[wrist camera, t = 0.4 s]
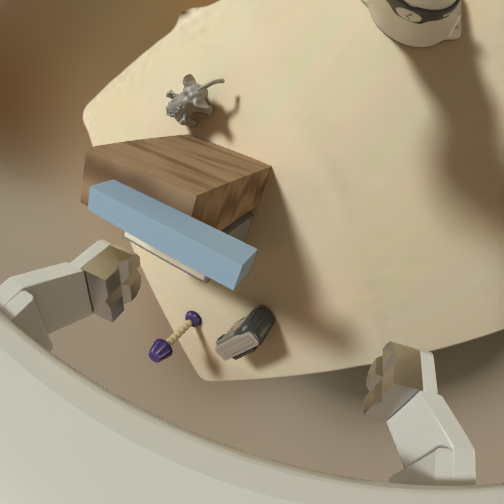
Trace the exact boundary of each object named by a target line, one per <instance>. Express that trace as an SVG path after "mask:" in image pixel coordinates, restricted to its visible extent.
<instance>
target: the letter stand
mask: <svg viewBox="0 0 504 504" xmlns="http://www.w3.org/2000/svg"><path fill="white" fill-rule="evenodd" d="M253 216H254V215H253V214H251V213H249V212H247V213H246V214H244V215H243V216H241V217H240V218H238V219H237V220H236V221H234V222H233V223H231V224H230V225H228V226H227V227H225V228H224V229H223V230H221V231H222V232H224V233H226V234H228V235H230V236H232V237H234V238H236V239H238V240H240V241H242V242H245V239H246V236H247V233H248V231H249V228H250V225H251V222H252V219H253ZM123 237H124V238H126V239H128V240H129V241H131V242H132V243H134V244H136V245H138V246H139V247H141V248H143V249H145V250H146V251H148V252H150V253H152V254H153V255H155V256H157V257H159V258H160V259H162V260H164V261H166V262H167V263H169V264H171V265H173V266H175V267H176V268H178V269H180V270H182V271H184V272H185V273H187V274H189V275H191V276H193V277H195V278H196V279H198V280H200V281H202V282H204V283H207V282H208V281H209V280H210V278H208V277H207V276H205V275H203V274H201V273H199V272H197V271H195V270H194V269H192V268H190V267H188V266H186V265H184V264H182V263H181V262H179V261H177V260H175V259H173V258H172V257H170V256H168V255H166V254H164V253H163V252H161V251H159V250H157V249H155V248H154V247H152V246H150V245H148V244H146V243H145V242H143V241H141V240H139V239H138V238H136V237H134V236H132V235H131V234H129V233H127V232H125V231H123Z"/></svg>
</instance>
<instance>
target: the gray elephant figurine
mask: <svg viewBox="0 0 504 504" xmlns="http://www.w3.org/2000/svg"><path fill="white" fill-rule="evenodd" d="M224 81H225V80H224V79H216V80H213V81H210V82H208V83H206V84H205V85H199V84H197V83H196V81H195V79H194V77H193V76H192V75H191V74H188V75H186V76H185V77H184V78H183V85H184V90H183V92H182V93H180V94H175V93H173V91H172V90H169V91H168V92H167V94H166V97H169V98H172V100H171V101H170V102H169V105H168V106H167V107H166V110H167V113H166V115H169V116H170V117H174V118H175V119H176V120H177V121H178V122H179V124H181V125H186V126H189V127H195V126H196V125H197V123H196V121H195V120H193V119H191V118H190V117H189V116H190V115H191V114H192V113H194V112H202V113H204V114H206V115H208V116H210V115H212V113H213V108H212V106H211V105H208V104H207V102H206V101H205V98H206V97H207V96H208V90H207V88H208V87H210V86H211V85H213V84H217V83H224ZM173 95H174V96H173Z"/></svg>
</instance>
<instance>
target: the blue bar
mask: <svg viewBox="0 0 504 504" xmlns="http://www.w3.org/2000/svg"><path fill="white" fill-rule="evenodd" d="M88 210H90V211H91V212H93V213H95V214H96V215H98V216H100V217H101V218H103V219H105V220H106V221H108V222H110V223H112V224H114V225H115V226H117V227H119V228H120V229H122V230H124V231H125V232H127V233H129V234H131V235H132V236H134V237H136V238H138V239H139V240H141V241H143V242H145V243H146V244H148V245H150V246H152V247H154V248H155V249H157V250H159V251H161V252H163V253H164V254H166V255H168V256H170V257H172V258H173V259H175V260H177V261H179V262H181V263H182V264H184V265H186V266H188V267H190V268H192V269H194V270H195V271H197V272H199V273H201V274H203V275H205V276H207V277H208V278H210V279H212V280H214V281H216V282H218V283H220V284H222V285H224V286H225V287H227V288H229V289H231V290H234V289H235V288H236V287H237V286H238V285H239V283H240V282H241V281H242V280H243V279H244V278H245V277H246V275H247V274H248V273H249V271H250V268H251V265H252V263H253V260H254V258H255V255H256V252H257V250H258V249H256V248H254V247H252V246H250V245H248V244H246V243H244V242H242V241H240V240H238V239H236V238H234V237H232V236H230V235H228V234H226V233H224V232H222V231H219V230H217V229H215V228H213V227H211V226H209V225H207V224H205V223H203V222H201V221H199V220H197V219H195V218H193V217H191V216H189V215H186V214H184V213H182V212H180V211H178V210H176V209H174V208H172V207H170V206H168V205H166V204H164V203H162V202H160V201H157V200H155V199H153V198H151V197H149V196H147V195H145V194H143V193H141V192H139V191H137V190H135V189H132V188H130V187H128V186H126V185H124V184H122V183H120V182H118V181H116V180H114V179H113V180H109V181H106V182H102V183H99V184H96V185H92V186H90V190H89V201H88Z"/></svg>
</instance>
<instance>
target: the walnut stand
mask: <svg viewBox="0 0 504 504" xmlns="http://www.w3.org/2000/svg"><path fill="white" fill-rule="evenodd" d="M270 169H271V166H270V165H267V164H265V163H263V162H260V161H258V160H255V159H253V158H250V157H248V156H245V155H243V154H240V153H237V152H235V151H232V150H230V149H227V148H224V147H222V146H219V145H216V144H214V143H211V142H208V141H205V140H203V139H200V138H197V137H194V136H191V135H178V136H167V137H158V138H149V139H141V140H134V141H126V142H119V143H113V144H107V145H101V146H95V147H90V148H87V150H86V158H85V165H84V174H83V184H82V194H81V203H83V204H85V205H87V206H88V201H89V190H90V186H92V185H96V184H99V183H102V182H106V181H109V180H113V179H114V180H116V181H118V182H120V183H122V184H124V185H126V186H128V187H130V188H132V189H135V190H137V191H139V192H141V193H143V194H145V195H147V196H149V197H151V198H153V199H155V200H157V201H160V202H162V203H164V204H166V205H168V206H170V207H172V208H174V209H176V210H178V211H180V212H182V213H184V214H186V215H189V216H191V217H193V218H195V219H197V220H199V221H201V222H203V223H205V224H207V225H209V226H211V227H213V228H215V229H217V230H219V231H221V230H223V229H224V228H225V227H227V226H228V225H230V224H231V223H233V222H234V221H236V220H237V219H238V218H240V217H241V216H243V215H244V214H246V213H247V212H249V211H250V210H252V209H253V208H255V207H256V206H257V205H258V202H259V200H260V197H261V194H262V191H263V189H264V186H265V183H266V180H267V177H268V175H269V172H270Z"/></svg>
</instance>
